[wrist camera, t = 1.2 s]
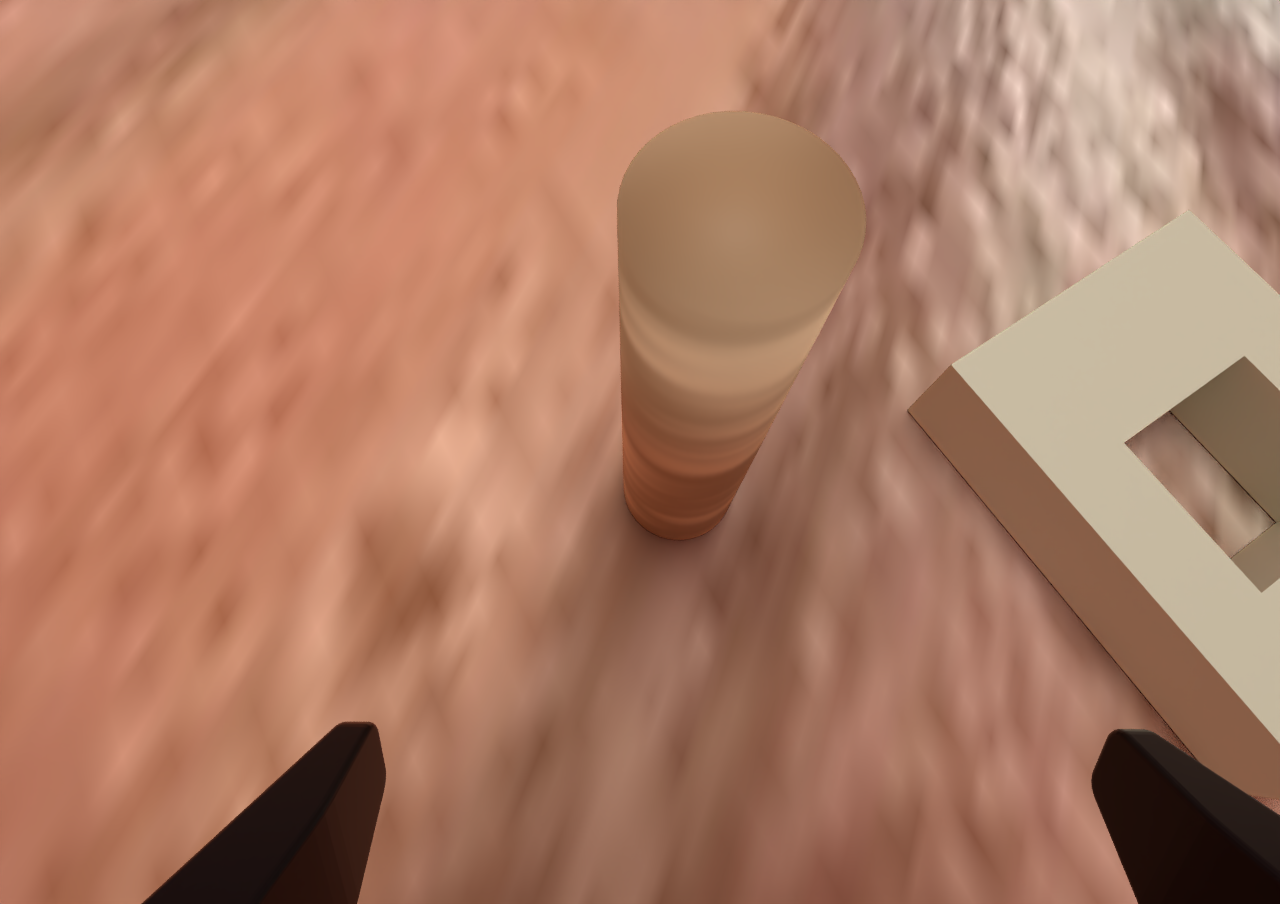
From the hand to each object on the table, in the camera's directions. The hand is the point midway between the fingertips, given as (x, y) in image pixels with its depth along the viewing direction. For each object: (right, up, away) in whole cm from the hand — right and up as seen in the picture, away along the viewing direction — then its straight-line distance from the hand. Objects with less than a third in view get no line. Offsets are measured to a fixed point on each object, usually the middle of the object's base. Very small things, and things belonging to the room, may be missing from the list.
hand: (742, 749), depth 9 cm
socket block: (+16, +2, +15) cm, 22 cm away
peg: (0, +3, +15) cm, 15 cm away
